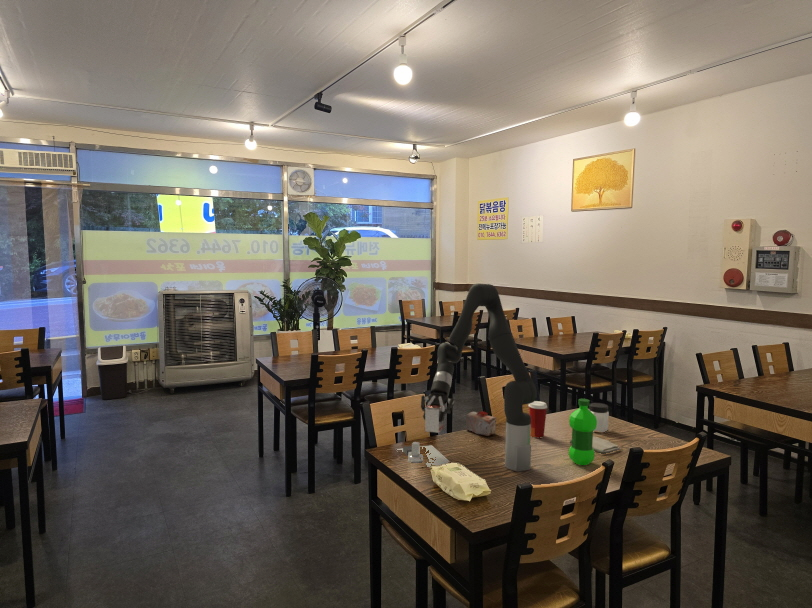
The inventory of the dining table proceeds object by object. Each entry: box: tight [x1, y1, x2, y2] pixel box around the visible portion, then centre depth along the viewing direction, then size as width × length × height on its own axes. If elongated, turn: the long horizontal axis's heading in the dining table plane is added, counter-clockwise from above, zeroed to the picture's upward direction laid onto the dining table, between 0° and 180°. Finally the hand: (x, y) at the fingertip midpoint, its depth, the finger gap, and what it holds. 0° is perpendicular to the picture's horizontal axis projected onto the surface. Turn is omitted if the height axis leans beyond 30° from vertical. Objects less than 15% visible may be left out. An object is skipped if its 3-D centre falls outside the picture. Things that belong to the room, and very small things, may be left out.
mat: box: [396, 444, 451, 468], centre depth 211 cm, size 22×16×1 cm
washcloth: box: [569, 435, 621, 454], centre depth 226 cm, size 12×18×3 cm, turn 33°
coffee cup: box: [527, 400, 548, 439], centre depth 238 cm, size 8×8×15 cm
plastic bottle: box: [568, 398, 597, 466], centre depth 206 cm, size 10×10×25 cm
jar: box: [588, 402, 610, 433], centre depth 248 cm, size 9×8×12 cm
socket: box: [424, 404, 444, 433], centre depth 213 cm, size 6×6×10 cm
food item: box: [465, 410, 498, 437], centre depth 242 cm, size 14×8×10 cm, turn 48°
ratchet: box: [402, 441, 423, 463], centre depth 209 cm, size 14×6×7 cm, turn 19°
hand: (432, 420), depth 211 cm, fingers closed on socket, 5 cm apart
